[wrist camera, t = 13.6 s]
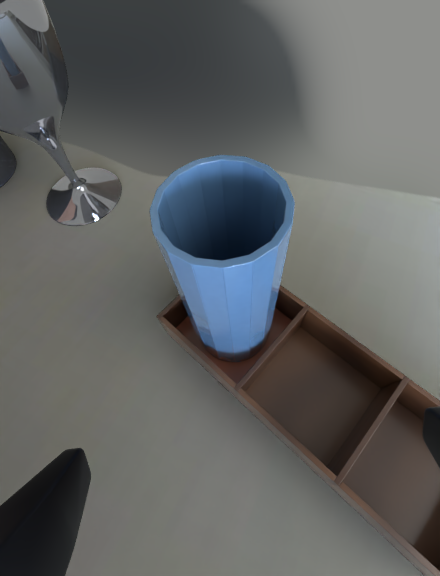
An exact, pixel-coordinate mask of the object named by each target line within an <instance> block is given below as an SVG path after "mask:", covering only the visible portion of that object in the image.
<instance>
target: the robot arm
mask: <svg viewBox="0 0 440 576" xmlns="http://www.w3.org/2000/svg"><path fill="white" fill-rule="evenodd" d="M422 434H423V439H424V442H425V444H426V446H427V447H428V449H429V451H430V452H431V454H432V456H433V458H434V459H435V461H436V463H437V465H438V466H439V468H440V406H437V407H429V408H426V410H425V411H424V420H423V432H422ZM90 480H91V472H90V468H89V465H88V462H87V459H86V456H85V453H84V450H83V449H81V448H75V449H68V450H65V451H64V452H62V453H61V454H60V455H59V456H58V457H57V458H55V459H54V460H53V461H52V462H51V463H50V464H48V465H47V466H46V467H45V468H44V469H43V470H42V471H40V472H39V473H38V474H37V475H36V476H35V477H33V478H32V479H31V480H30V481H29V482H28V483H26V484H25V485H24V486H23V487H22V488H21V489H19V490H18V491H17V492H16V493H15V494H14V495H13V496H11V497H10V498H9V499H8V500H7V501H6V502H4V503H3V504H2V505H1V506H0V576H65V574H66V571H67V568H68V565H69V562H70V559H71V556H72V552H73V549H74V546H75V542H76V538H77V534H78V530H79V526H80V522H81V518H82V514H83V510H84V506H85V501H86V497H87V493H88V489H89V485H90Z"/></svg>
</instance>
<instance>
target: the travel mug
mask: <svg viewBox="0 0 440 576" xmlns="http://www.w3.org/2000/svg"><path fill="white" fill-rule="evenodd" d="M15 168H16V159H15V156H14V155H13V153H12V151H11V150H10V149H9V147H8V146H7V145H6V143H5V142H4V140H3V139H2V138H1V136H0V187H1V186H3V185H4V184H5V183H6V182H7V181H8V180H9V179H10V178H11V176H12V175H13V173H14V171H15Z"/></svg>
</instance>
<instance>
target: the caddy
mask: <svg viewBox="0 0 440 576" xmlns="http://www.w3.org/2000/svg"><path fill="white" fill-rule="evenodd" d="M157 318H158V320H159V321H160V323H161V324H162V325H163V327H164V328H165V330H166V331H167V333H168V334H169V335H170V336H171V337H172V338H173V339H174V340H175V341H176V342H177V343H178V344H179V345H181V346H182V347H183V348H184V349H185V350H186V351H187V352H188V353H189V354H190V355H191V356H192V357H193V358H194V359H195V360H196V361H198V362H199V363H200V364H201V365H202V366H203V367H204V368H205V369H206V370H207V371H208V372H209V373H210V374H211V375H212V376H213V377H215V378H216V379H217V380H218V381H219V382H220V383H221V384H222V385H223V386H224V387H225V388H226V389H227V390H228V391H229V392H230V393H231V394H233V395H234V396H235V397H236V398H237V399H238V400H239V401H240V402H241V403H242V404H243V405H244V406H245V407H246V408H247V409H248V410H250V411H251V412H252V413H253V414H254V415H255V416H256V417H257V418H258V419H259V420H260V421H261V422H262V423H263V424H264V425H265V426H267V427H268V428H269V429H270V430H271V431H272V432H273V433H274V434H275V435H276V436H277V437H278V438H279V439H280V440H281V441H282V442H284V443H285V444H286V445H287V446H288V447H289V448H290V449H291V450H292V451H293V452H294V453H295V454H296V455H297V456H298V457H299V458H301V459H302V460H303V461H304V462H305V463H306V464H307V465H308V466H309V467H310V468H311V469H312V470H313V471H314V472H315V473H316V474H317V475H319V476H320V477H321V478H322V479H323V480H324V481H325V482H326V483H327V484H328V485H329V486H330V487H331V488H332V489H333V490H334V491H336V492H337V493H338V494H339V495H340V496H341V497H342V498H343V499H344V500H345V501H346V502H347V503H348V504H349V505H350V506H351V507H353V508H354V509H355V510H356V511H357V512H358V513H359V514H360V515H361V516H362V517H363V518H364V519H365V520H366V521H367V522H368V523H370V524H371V525H372V526H373V527H374V528H375V529H376V530H377V531H378V532H379V533H380V534H381V535H382V536H383V537H384V538H385V539H387V540H388V541H389V542H390V543H391V544H392V545H393V546H394V547H395V548H396V549H397V550H398V551H399V552H400V553H401V554H402V555H403V556H405V557H406V558H407V559H408V560H409V561H410V562H411V563H412V564H413V565H414V566H415V567H416V568H417V569H418V570H419V571H420V572H422V573H423V574H424V575H425V576H440V468H439V466H438V465H437V463H436V461H435V459H434V458H433V456H432V454H431V452H430V451H429V449H428V447H427V446H426V444H425V442H424V439H423V434H422V432H423V420H424V411H425V410H426V408H429V407H437V406H440V401H439V400H438V399H437V398H435V397H434V396H432V395H431V394H430V393H428V392H427V391H426V390H424V389H423V388H421V387H420V386H419V385H417V384H416V383H415V382H413V381H412V380H410V379H409V378H408V377H406V376H405V375H404V374H402V373H401V372H399V371H398V370H397V369H395V368H394V367H392V366H391V365H390V364H388V363H387V362H386V361H384V360H383V359H381V358H380V357H379V356H377V355H376V354H375V353H373V352H372V351H370V350H369V349H368V348H366V347H365V346H364V345H362V344H361V343H359V342H358V341H357V340H355V339H354V338H353V337H351V336H350V335H348V334H347V333H346V332H344V331H343V330H342V329H340V328H339V327H337V326H336V325H335V324H333V323H332V322H330V321H329V320H328V319H326V318H325V317H324V316H322V315H321V314H319V313H318V312H317V311H315V310H314V309H313V308H311V307H310V306H308V305H307V304H306V303H304V302H303V301H302V300H300V299H299V298H297V297H296V296H295V295H293V294H292V293H291V292H289V291H288V290H286V289H285V288H284V287H282V286H281V285H280V286H279V291H278V296H277V300H276V305H275V310H274V315H273V319H272V324H271V329H270V334H269V337H268V339H267V342H266V344H265V346H264V347H263V348H262V350H261V351H260V352H259V353H258V354H256V355H255V356H254V357H252V358H250V359H248V360H245V361H242V362H233V363H232V362H225V361H221V360H219V359H217V358H215V357H213V356H212V355H210V354H209V353H208V352H207V351H206V350H205V348H204V347H203V345H202V344H201V342H200V340H199V339H198V336H197V334H196V332H195V329H194V327H193V325H192V322H191V320H190V318H189V315H188V313H187V311H186V308H185V306H184V304H183V301H182V299H181V297H180V294H179V295H178V296H177V297H176V298H175V299H174V300H173V301H172V302H171V303H170V304H169V305H168V306H167V307H166V308H165V309H164V310H163V311H162V312H161V313H160V314H158V315H157Z"/></svg>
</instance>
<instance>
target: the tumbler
mask: <svg viewBox="0 0 440 576" xmlns="http://www.w3.org/2000/svg"><path fill="white" fill-rule="evenodd" d="M294 205H295V202H294V199H293V196H292V194H291V192H290V189H289V187H288V184H287V182H286V181H285V180H284V179H283V178H282V177H281V176H280V175H279V174H278V173H277V172H275V171H274V170H273V169H272V168H271V167H270V166H268V165H266V164H263V163H261V162H258V161H256V160H253V159H251V158H248V157H245V156H230V155H217V156H212V157H207V158H203V159H197V160H194V161H192V162H190V163H188V164H187V165H185V166H183V167H181V168H179V169H177V170H175V171H174V172H172V173H171V175H170V176H169V177H168V178H167V179H166V180H165V181H164V182H163V183H162V184H161V185H160V186H159V188H158V189H157V191H156V193H155V196H154V199H153V202H152V205H151V208H150V217H151V224H152V231H153V234H154V236H155V239H156V241H157V243H158V246H159V248H160V250H161V253H162V255H163V257H164V260H165V262H166V264H167V267H168V269H169V271H170V273H171V276H172V278H173V280H174V283H175V285H176V287H177V290H178V292H179V294H180V297H181V299H182V301H183V304H184V306H185V308H186V311H187V313H188V315H189V318H190V320H191V322H192V325H193V327H194V329H195V332H196V334H197V336H198V339H199V340H200V342H201V344H202V345H203V347H204V348H205V350H206V351H207V352H208V353H209V354H210V355H212V356H213V357H215V358H217V359H219V360H221V361H225V362H232V363H233V362H242V361H245V360H248V359H250V358H252V357H254V356H255V355H256V354H258V353H259V352H260V351H261V350H262V348H263V347H264V346H265V344H266V342H267V339H268V337H269V334H270V329H271V324H272V319H273V315H274V310H275V305H276V300H277V296H278V291H279V286H280V281H281V277H282V272H283V267H284V262H285V258H286V253H287V248H288V243H289V239H290V234H291V229H292V224H293V215H294Z"/></svg>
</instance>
